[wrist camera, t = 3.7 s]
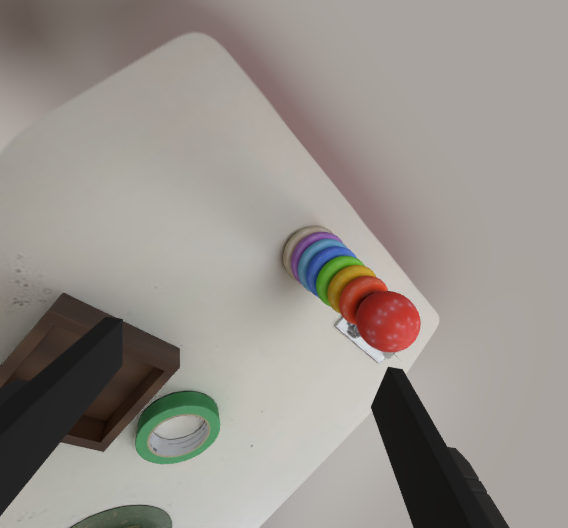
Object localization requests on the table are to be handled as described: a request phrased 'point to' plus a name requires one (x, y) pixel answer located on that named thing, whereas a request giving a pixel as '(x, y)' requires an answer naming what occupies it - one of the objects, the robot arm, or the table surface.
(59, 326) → the square tray
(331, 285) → the stacking toy
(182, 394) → the tape roll
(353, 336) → the car cutout
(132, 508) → the frog figurine
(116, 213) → the table surface
